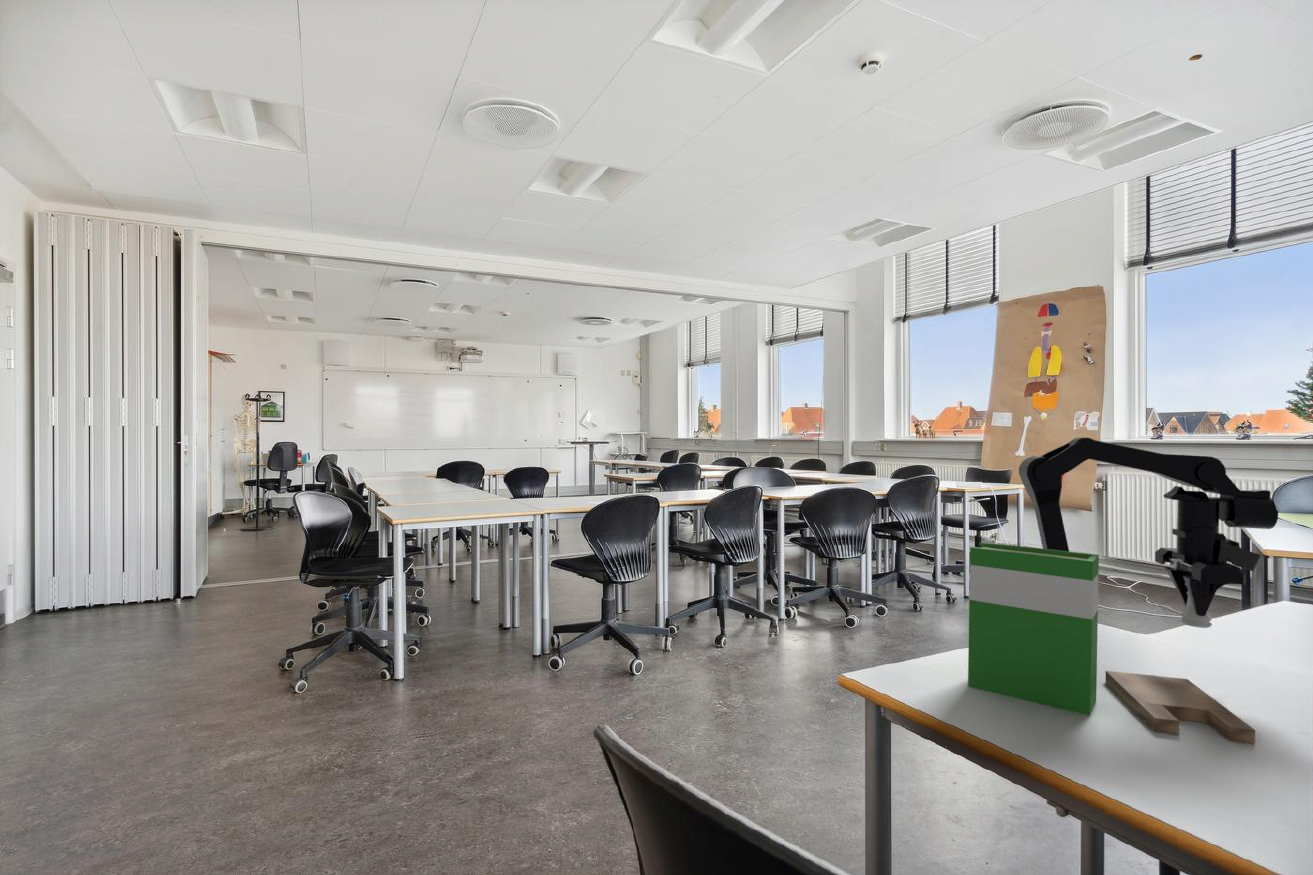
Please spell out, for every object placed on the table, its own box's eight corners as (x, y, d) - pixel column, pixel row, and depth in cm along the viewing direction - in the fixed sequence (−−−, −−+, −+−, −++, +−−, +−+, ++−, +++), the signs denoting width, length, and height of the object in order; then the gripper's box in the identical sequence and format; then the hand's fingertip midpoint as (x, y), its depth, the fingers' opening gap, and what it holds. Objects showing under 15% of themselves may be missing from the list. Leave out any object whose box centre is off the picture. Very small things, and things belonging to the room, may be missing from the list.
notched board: (1154, 731, 96) (1154, 718, 96) (1105, 682, 115) (1105, 670, 115) (1254, 743, 92) (1255, 729, 92) (1186, 690, 111) (1187, 678, 111)
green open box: (967, 686, 112) (970, 547, 112) (979, 674, 118) (981, 542, 118) (1090, 716, 101) (1092, 561, 101) (1096, 701, 107) (1098, 554, 106)
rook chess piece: (1200, 621, 119) (1201, 577, 119) (1218, 628, 114) (1219, 583, 114) (1173, 620, 119) (1174, 576, 119) (1191, 627, 115) (1192, 582, 115)
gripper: (1286, 536, 105) (1284, 632, 105) (1224, 521, 123) (1222, 603, 123) (1203, 532, 109) (1201, 625, 109) (1154, 518, 126) (1152, 598, 127)
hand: (1195, 612), depth 117 cm, fingers closed on rook chess piece, 3 cm apart
